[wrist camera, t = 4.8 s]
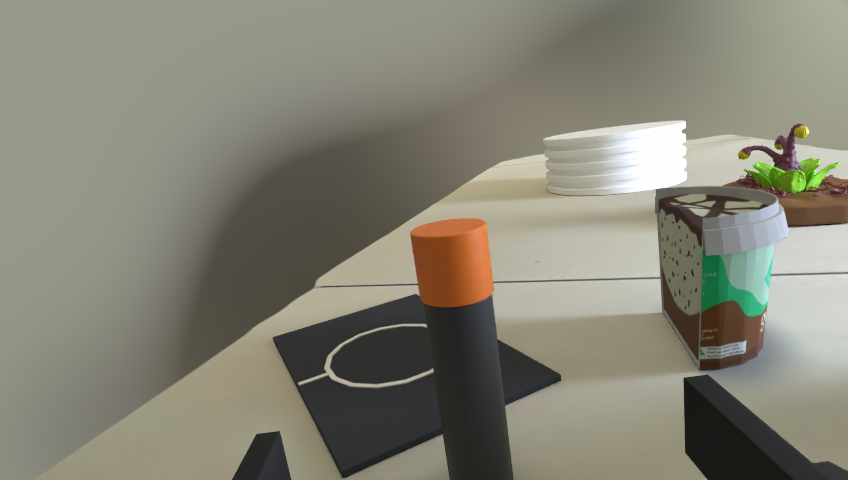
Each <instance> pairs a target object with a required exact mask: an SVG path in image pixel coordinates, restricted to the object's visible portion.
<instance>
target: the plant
mask: <svg viewBox="0 0 848 480" xmlns="http://www.w3.org/2000/svg"><path fill="white" fill-rule="evenodd" d="M808 134H809V130H808V128H807V127H806V126H804V125H802V124H797V125H794V126H793V127H792V128H791V131H790V134H789V136H788V137H787V139H786V138H784V137H783V136H779V137H778V138H777V139H776V141H775V144H774V145H775V148H776V149H778V150H781V149H783V154H782V155H780V154H778V153H776V152H774V151H772V150H771V149H769V148H768V147H764V146H752V147H746V148H744V149H742V150H741V151H740V152H739V154H738V157H739V159H747V158H748V157H749V156H750V154H751V152H752V151H753V150H760V151H763V152H765V153H767V154H768V155H769V156H771V157H772V158H773V162H775V164H774V167H773V166H771V165H768V164H764V163H759V162H757V163H756V164H755V165H756V166H755V165H753V167H754V168H755V169H757V170H758V171H759V173H758V172H755V171H750V170H746V169H744V171H746V172H747V175H749V174H750V175H751V176H750V175H749V176H747V175H746V178H743V179H739V180H738V181H736V182H732V183H729V184H726V185H724V186H721V187H739V188H749V189H756V190H762V191H766V192H770V193H772V194H774V195H776V196H777V197H778V204H780V205H781V206H782V207H783V208H784V213H785V217H786V221H787V225H788V226H803V225H818V224H835V223H847V222H848V180H846V179H839V178H835V177H833V175H830V176H829V177H824V176H825V174H826V173H827V172H828V171H829V170H831V169H834V168H835V167H836V166H837V165H838V164H839V163H840V162H838V163H835V164H831V165H829V166H827V167H825V168H823V169H822V170H821V171H820V172H819V173H817V174H816V175H815V169H816V168H817V167H818V166H819V163H820V159H816V160H814V159H813V158H811V159H808V160H804V161H802V162H800V163H799V162H798V161H796V156H795V155H796V151H795V138H796V137H798V138H805V137H806V136H807V135H808ZM786 140H787V141H786ZM814 175H815V176H814ZM743 177H744V176H743ZM750 177H751V178H750ZM740 178H741V177H740Z"/></svg>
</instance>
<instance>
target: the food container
mask: <svg viewBox="0 0 848 480" xmlns="http://www.w3.org/2000/svg"><path fill="white" fill-rule="evenodd" d="M655 214H657V222H658V241H659V259H660V277H661V295H662V312H663V314H664V315H665V317H666V318H667V320H668V321H669V323H670V325H671V326H672V328H673V329H674V331H675V332H676V334H677V336H678V337H679V339H680V340H681V342H682V343H683V345H684V347H685V348H686V350H687V351H688V353H689V354H690V356H691V358H692V359H693V361H694V362H695V364H696V365H697V367H698V369H699V370H708V369H721V368H726V367H731V366H735V365H740V364H743V363H745V362H747V361H749V360H751V359H753V358H755V357H756V356H757V355H758V353H759V352H760V350H761V348H762V345H763V337H764V328H765V320H766V311H767V303H768V294H769V286H770V278H771V269H772V261H773V252H774V244H775V243H777V242H780V241H781V240H783V239H784V238H786V237H787V235H788V234H789V229H788V225H787V221H786V217H785V213H784V208H783V207H782V206H781V205H780V204H778V197H777V196H776V195H774V194H772V193H770V192H766V191H762V190H756V189H749V188H739V187H719V186H698V187H675V188H662V189H656V196H655Z"/></svg>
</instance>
